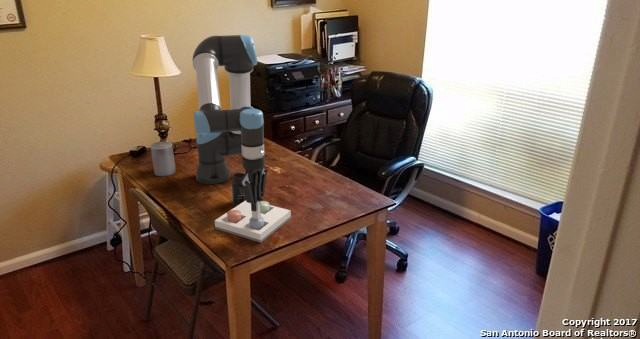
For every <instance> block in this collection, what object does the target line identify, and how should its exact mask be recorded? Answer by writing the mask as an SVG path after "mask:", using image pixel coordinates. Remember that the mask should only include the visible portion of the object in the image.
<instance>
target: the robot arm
mask: <svg viewBox="0 0 640 339" xmlns="http://www.w3.org/2000/svg"><path fill="white" fill-rule="evenodd" d="M254 41H255V40H254V39H253V37H252V36H251V35H245V34H244V35H242V34H237V35H236V34H235V35H234V34H232V35H229V34H228V35H211V36H208V37H206V38H204V39H202V41H201V42H200V43H198V44H197V46H196V48H195V49H194V52H193V54H192V68H193V69H194V70H195V74H196V85H197V86H196V87H197V98H198V110H197V111H196V110H195V111H194V112H193V124H194V125H193V126H194V131H195V133H196V142H195V143H196V144H197V145H196V146H197V157H198V158H197V159H198V166H197V169H196V173H195V176H196V178H195V179H196V181H197V182H198V183H199V184H204V185H218V184H221V183H226V182H228V180H230V178H231V171H230V169H229V167H228V164H227V162H226V157H228V156H229V157H230V156H239V155H241V156H242V157H241V158H242V159H241V160H242V161H241V163H242V167H243V168H244V170H245V171H244V172H245V173H244V174H245V178H244V180H241V181H240V183H241V184H242V186H243V190H244V194H245V198H246V202H248V203H251V211H252V218H255V219H260V218H261V212H260V207H261V203H260V201H264V196H265V194H266V193H265V192H266V181H267V175H268V170H269V169H266V168H264V167H265V166H266V157H265V138H264V135H265V133H264V132H265V131H264V128H265V127H264V126H265V125H264V123H265V120H264V113H263V111H262V110H260V109H258V108H255V107H253V106H251V100H252V99H251V73H252V72H253V71H254V66H257V65H258V58H257V51H256V47H255V43H254ZM219 67H224V70H225V72H226V73H228V80H229V81H228V83H229V84H228V86H229V104H230V109H222V104H221V97H220V88H219V80H218V78H219V77H218V72H217V71H218V70H217V69H218V68H219ZM262 197H263V198H262Z"/></svg>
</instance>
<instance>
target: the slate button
mask: <svg viewBox="0 0 640 339" xmlns="http://www.w3.org/2000/svg"><path fill="white" fill-rule="evenodd" d="M263 227H264V218H263V217H261V218H260V219H255V218H252V217H251V218H250V228H252V229H255V230H260V229H262V228H263Z"/></svg>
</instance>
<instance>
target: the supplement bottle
mask: <svg viewBox="0 0 640 339" xmlns="http://www.w3.org/2000/svg"><path fill="white" fill-rule="evenodd" d="M244 178H245V173H243V172H239V173H238V172H237V173H235V174H233V181H232V182H231V186H230V187H231V201H232V204H233V205H235V206H238V205H239V204H241V203H243V202H244V201H246V198H245V194H244V190H243V186H242V184H241V183H240V181H241V180H244Z"/></svg>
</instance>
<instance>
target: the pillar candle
mask: <svg viewBox="0 0 640 339" xmlns="http://www.w3.org/2000/svg"><path fill="white" fill-rule="evenodd" d="M149 147H150V154H151V160H152V166H153V167H152V168H153V172H154V175H155V176H156V177H157V176H158V177H166V176H171V175H173V174H175V173H176V171H177V168H176V162H175V155H174V149H173V148H174V147H173V143H172V142H170V141H157V142H154V143H152V144H151V145H150V146H149Z"/></svg>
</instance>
